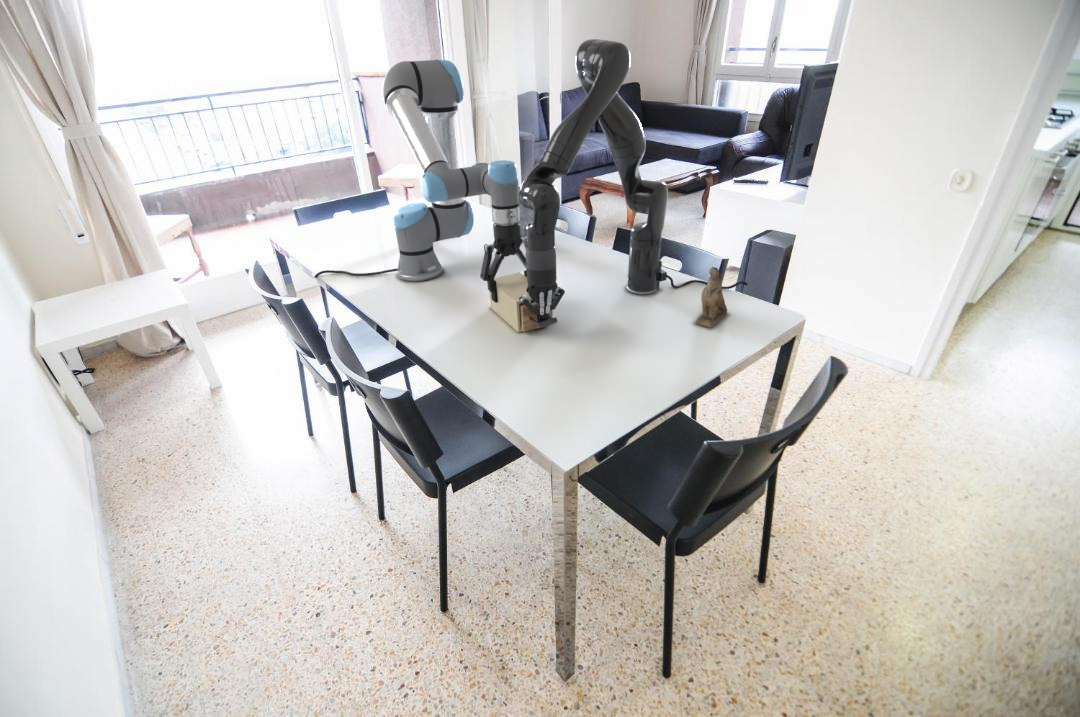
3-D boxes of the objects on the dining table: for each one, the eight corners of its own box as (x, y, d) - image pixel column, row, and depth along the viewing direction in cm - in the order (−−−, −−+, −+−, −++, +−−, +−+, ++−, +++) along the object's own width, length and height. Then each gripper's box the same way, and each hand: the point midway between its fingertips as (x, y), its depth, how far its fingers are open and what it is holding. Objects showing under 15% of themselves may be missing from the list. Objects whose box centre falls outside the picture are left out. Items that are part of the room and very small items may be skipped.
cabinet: (550, 323, 141) (550, 293, 136) (518, 332, 137) (516, 301, 132) (521, 300, 154) (519, 272, 150) (490, 308, 150) (488, 279, 145)
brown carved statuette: (709, 335, 136) (713, 280, 124) (691, 329, 139) (693, 274, 128) (730, 313, 142) (736, 258, 130) (712, 307, 145) (716, 253, 133)
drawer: (563, 331, 134) (563, 307, 130) (533, 340, 130) (532, 315, 127) (524, 301, 151) (522, 278, 147) (497, 308, 148) (495, 285, 144)
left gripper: (473, 233, 128) (481, 310, 139) (549, 218, 137) (551, 292, 149) (462, 226, 133) (471, 301, 145) (536, 212, 143) (539, 283, 154)
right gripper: (524, 274, 119) (528, 337, 128) (571, 263, 124) (571, 324, 133) (510, 264, 124) (515, 326, 133) (556, 254, 129) (557, 314, 139)
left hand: (511, 296), depth 147 cm, fingers closed on cabinet, 10 cm apart
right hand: (543, 325), depth 133 cm, fingers closed
